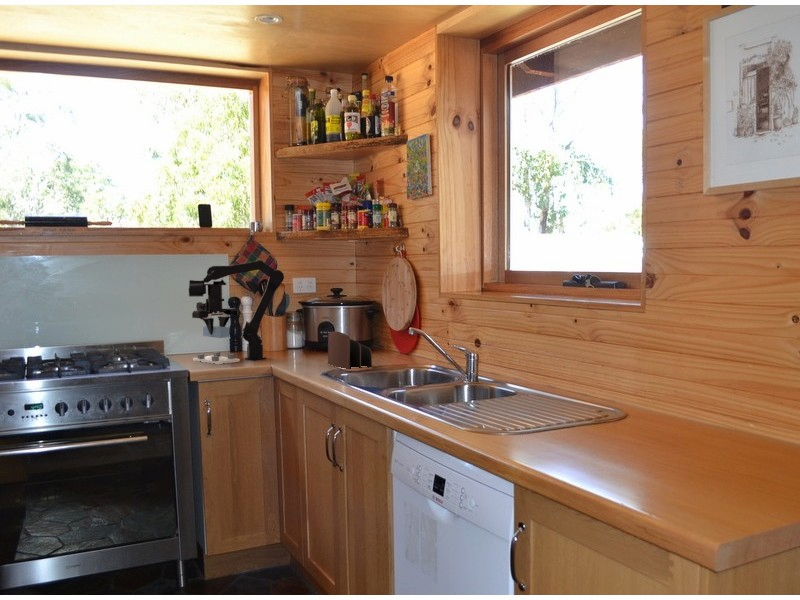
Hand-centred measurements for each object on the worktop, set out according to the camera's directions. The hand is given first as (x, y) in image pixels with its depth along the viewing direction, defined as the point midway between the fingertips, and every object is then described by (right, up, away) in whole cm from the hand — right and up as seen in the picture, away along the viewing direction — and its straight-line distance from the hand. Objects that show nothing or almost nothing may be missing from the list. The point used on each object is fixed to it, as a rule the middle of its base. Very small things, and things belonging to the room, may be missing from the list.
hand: (216, 334), depth 296 cm
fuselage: (0, -1, 0) cm, 1 cm away
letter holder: (+57, -12, -21) cm, 62 cm away
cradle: (0, -11, 0) cm, 11 cm away
